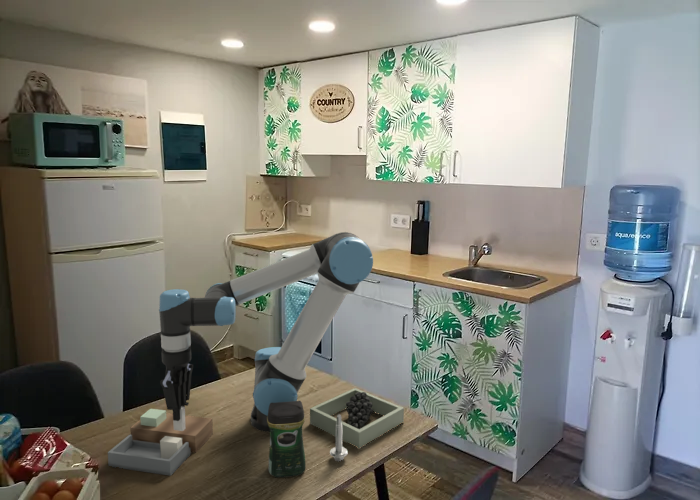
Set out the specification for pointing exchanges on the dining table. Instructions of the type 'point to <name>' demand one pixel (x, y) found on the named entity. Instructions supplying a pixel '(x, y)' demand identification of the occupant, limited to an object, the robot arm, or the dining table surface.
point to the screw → (338, 442)
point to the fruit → (359, 410)
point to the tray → (146, 457)
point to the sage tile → (153, 417)
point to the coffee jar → (286, 439)
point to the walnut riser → (176, 431)
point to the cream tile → (170, 446)
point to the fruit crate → (350, 434)
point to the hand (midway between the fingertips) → (179, 429)
